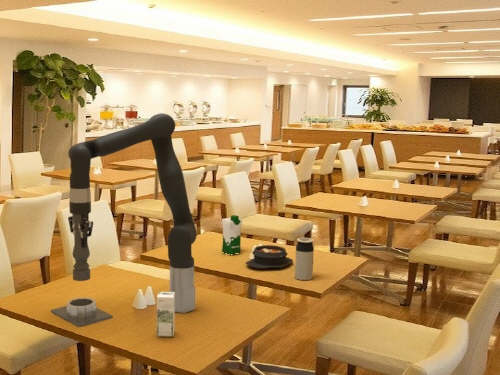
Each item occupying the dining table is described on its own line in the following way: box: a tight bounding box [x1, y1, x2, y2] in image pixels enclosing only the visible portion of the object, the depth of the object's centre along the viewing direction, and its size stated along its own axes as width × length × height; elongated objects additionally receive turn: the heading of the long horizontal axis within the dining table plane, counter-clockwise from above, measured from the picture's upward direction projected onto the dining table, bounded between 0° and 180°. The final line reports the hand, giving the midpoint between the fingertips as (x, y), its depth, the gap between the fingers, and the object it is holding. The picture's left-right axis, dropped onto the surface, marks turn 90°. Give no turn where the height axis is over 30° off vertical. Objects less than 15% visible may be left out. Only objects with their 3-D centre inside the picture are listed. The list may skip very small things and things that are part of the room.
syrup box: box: [156, 291, 176, 338], centre depth 218 cm, size 6×6×14 cm
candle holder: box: [71, 213, 91, 282], centre depth 231 cm, size 6×6×25 cm
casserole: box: [245, 244, 294, 269], centre depth 306 cm, size 25×19×8 cm
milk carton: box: [221, 215, 243, 255], centre depth 326 cm, size 9×9×20 cm
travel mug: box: [294, 237, 315, 281], centre depth 287 cm, size 8×8×18 cm
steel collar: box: [50, 297, 114, 328], centre depth 235 cm, size 20×14×5 cm
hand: (80, 246), depth 231 cm, fingers closed on candle holder, 4 cm apart
